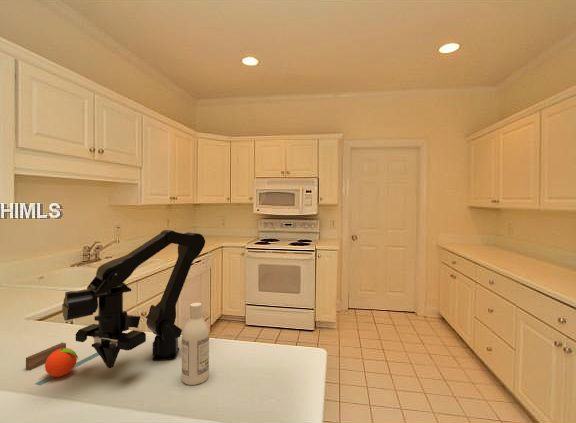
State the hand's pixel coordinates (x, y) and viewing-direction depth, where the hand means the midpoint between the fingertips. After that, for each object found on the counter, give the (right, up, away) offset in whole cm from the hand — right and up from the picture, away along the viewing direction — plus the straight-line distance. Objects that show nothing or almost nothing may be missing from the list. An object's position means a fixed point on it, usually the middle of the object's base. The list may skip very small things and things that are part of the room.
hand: (110, 367), depth 81 cm
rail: (-23, -2, +7) cm, 24 cm away
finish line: (-13, -2, +4) cm, 14 cm away
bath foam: (+23, -3, -1) cm, 23 cm away
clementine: (-13, -2, 0) cm, 13 cm away
